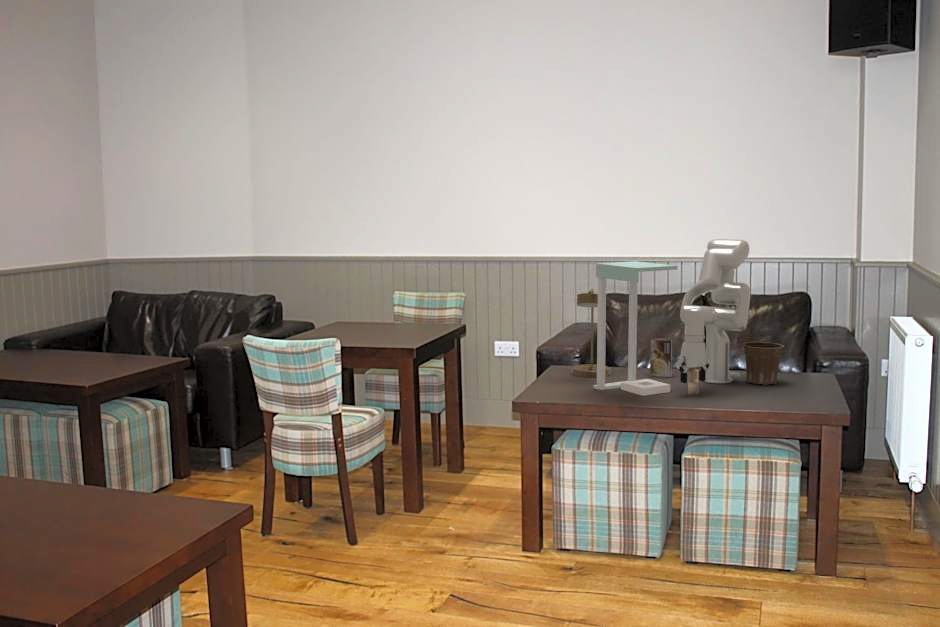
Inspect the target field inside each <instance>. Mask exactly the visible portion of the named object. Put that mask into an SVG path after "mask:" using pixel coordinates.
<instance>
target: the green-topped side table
mask: <svg viewBox="0 0 940 627" xmlns="http://www.w3.org/2000/svg"><path fill="white" fill-rule="evenodd" d="M672 270H673V271H674V270H678V265H676V264H675V265H673V264H663V263H656V262H655V263H654V262H644V261H636V260H634V261H621V262H620V261H617V262H599V263H596V264H595V278H597V294H598V307H597V323H596V324H597V325H596V326H597V329H596V336H597V337H596V344H597V345H596V365H597V377H596V384H593V385H592V386H593V387H592V388H593V389H596V390H597V391H605V390H612V389H613V390H614V389H621V382H627V381H635V380H637V343H638V342H637V341H638V340H637V338H638V336H637V335H638V334H637V333H638V283H639V278H640V276H639V275H640V274H639V273H642V272H661V271H672ZM607 279H608V280H615V281H624V282H628V336H627V337H628V341H627V342H628V344H627V346H628V349H627V350H628V351H627V356H628V357H627V380H625V381H615V382H609V383H608V382H607V383H606V376H605V366H606V347H607V344H606V343H607V342H606V336H607V332H606V330H607V326H606V325H607V324H606V323H607Z"/></svg>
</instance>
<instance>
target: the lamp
mask: <svg viewBox="0 0 940 627" xmlns="http://www.w3.org/2000/svg"><path fill="white" fill-rule="evenodd" d="M576 306H578V307H584V308H590V311H591V312H590V319H591V320H590V363H589V364H587V363H586V364H585V363H584V364H577V365H573V366H571V375H573V376H575V377H579V378H580V377H582V378H597V364H594V316H595V314H594V308H598V293H595V292H594V288H590V290H588V292H585V293H584V292H583V293H578V294H576ZM610 375H611V367H610V366H608V365H605V377H608V376H610Z"/></svg>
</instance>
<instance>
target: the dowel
mask: <svg viewBox="0 0 940 627" xmlns="http://www.w3.org/2000/svg"><path fill="white" fill-rule="evenodd" d="M699 370H700V368H699V367H697V368H688V374H687V384H688V386H687V393H688V395H694V394H696V395H699V386H700V384H699V383H700V382H699V381H700V380H699Z"/></svg>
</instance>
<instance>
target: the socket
mask: <svg viewBox="0 0 940 627" xmlns="http://www.w3.org/2000/svg"><path fill="white" fill-rule="evenodd" d="M626 381H627V382H622V381H620V382H621V388H620V390H621V391H624V392H627V393H632V394H635V395H638V396H642V397H645V396H651V395H653V396H654V395H659V394H665V393H671V384H669V383H665V382H661V381H657V380H654V379H650V378H644V379H643V378H642V379H636V380H635V381H628V380H626Z"/></svg>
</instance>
